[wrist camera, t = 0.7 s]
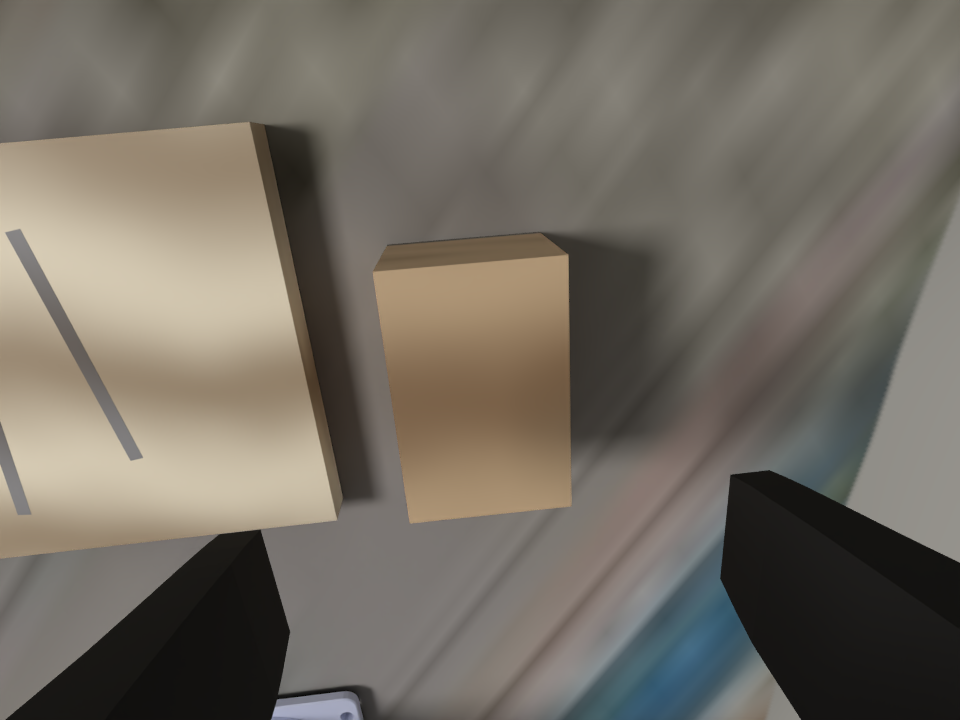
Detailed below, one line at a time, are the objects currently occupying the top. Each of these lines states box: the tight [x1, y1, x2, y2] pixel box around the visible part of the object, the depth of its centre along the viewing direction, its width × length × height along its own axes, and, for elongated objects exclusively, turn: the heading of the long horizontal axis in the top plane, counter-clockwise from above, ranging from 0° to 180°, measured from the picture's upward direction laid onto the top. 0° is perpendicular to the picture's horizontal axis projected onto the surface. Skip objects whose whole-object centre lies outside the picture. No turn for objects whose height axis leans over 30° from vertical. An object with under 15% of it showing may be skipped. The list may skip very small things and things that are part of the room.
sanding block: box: [373, 232, 571, 523], centre depth 15 cm, size 7×4×4 cm, turn 4°
